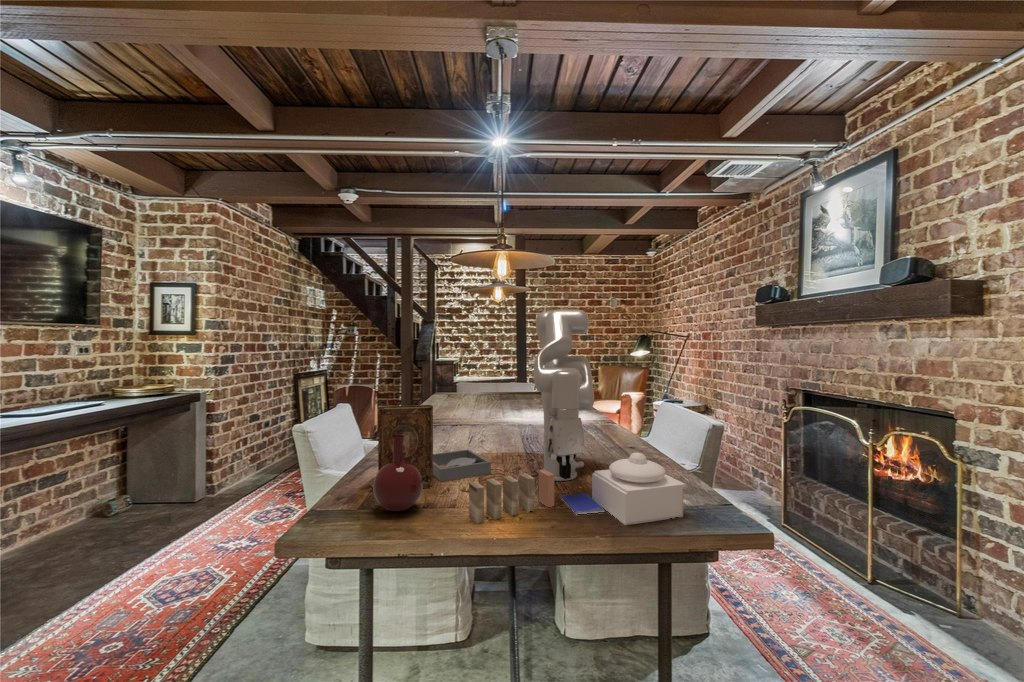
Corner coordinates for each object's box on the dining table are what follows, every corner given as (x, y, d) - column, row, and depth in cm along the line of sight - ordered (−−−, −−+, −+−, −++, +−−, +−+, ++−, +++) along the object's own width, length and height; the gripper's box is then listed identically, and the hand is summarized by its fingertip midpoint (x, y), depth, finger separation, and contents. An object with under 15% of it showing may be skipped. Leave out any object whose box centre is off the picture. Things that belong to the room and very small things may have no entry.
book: (432, 482, 148) (432, 404, 148) (433, 488, 143) (433, 407, 142) (379, 485, 145) (379, 406, 144) (378, 491, 140) (377, 409, 139)
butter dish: (592, 501, 132) (592, 446, 132) (646, 494, 138) (646, 441, 138) (625, 526, 116) (625, 463, 115) (685, 517, 121) (685, 457, 121)
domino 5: (544, 500, 132) (544, 469, 132) (554, 506, 128) (554, 474, 128) (538, 502, 131) (538, 470, 131) (548, 508, 127) (548, 475, 127)
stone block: (444, 481, 155) (473, 476, 154) (441, 467, 155) (470, 462, 154) (451, 472, 167) (478, 467, 166) (449, 459, 167) (476, 454, 166)
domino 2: (493, 511, 124) (492, 478, 124) (501, 518, 120) (501, 483, 120) (486, 513, 123) (486, 479, 123) (494, 519, 119) (494, 485, 119)
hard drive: (604, 509, 124) (587, 493, 136) (575, 511, 122) (560, 495, 134) (604, 515, 124) (587, 498, 136) (575, 517, 122) (560, 500, 134)
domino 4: (525, 505, 129) (525, 473, 129) (534, 511, 125) (534, 478, 125) (518, 506, 128) (518, 474, 128) (528, 512, 124) (528, 479, 124)
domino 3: (509, 508, 127) (509, 475, 127) (518, 514, 122) (518, 481, 122) (502, 509, 126) (502, 476, 126) (511, 516, 121) (511, 482, 121)
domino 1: (476, 515, 122) (476, 481, 122) (484, 522, 118) (484, 487, 117) (468, 516, 121) (468, 482, 121) (476, 523, 117) (476, 488, 116)
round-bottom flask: (363, 510, 125) (363, 437, 125) (404, 497, 135) (403, 429, 135) (391, 524, 116) (391, 445, 116) (432, 508, 126) (432, 436, 126)
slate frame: (468, 459, 174) (468, 449, 174) (490, 473, 157) (490, 462, 157) (422, 466, 166) (422, 455, 165) (440, 481, 149) (440, 469, 149)
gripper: (550, 418, 125) (550, 485, 126) (594, 413, 132) (594, 477, 133) (536, 413, 132) (535, 478, 132) (578, 409, 139) (578, 470, 139)
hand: (565, 477), depth 132 cm, fingers closed
